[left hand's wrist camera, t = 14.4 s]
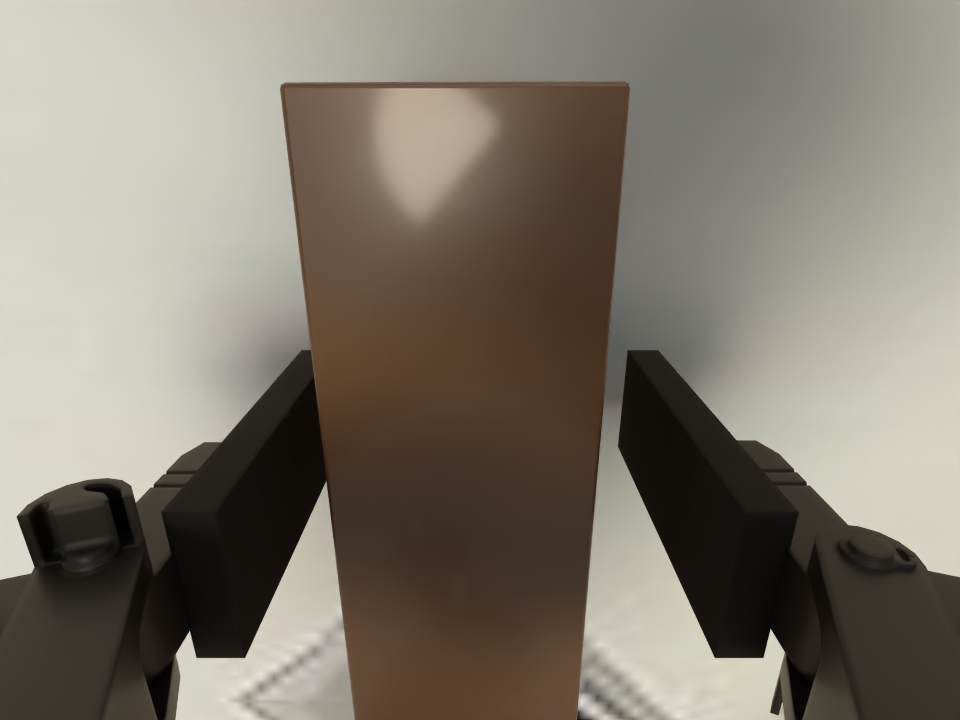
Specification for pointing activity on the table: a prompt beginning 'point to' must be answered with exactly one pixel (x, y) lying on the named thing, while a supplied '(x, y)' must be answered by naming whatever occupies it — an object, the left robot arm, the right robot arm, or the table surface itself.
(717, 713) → the table surface
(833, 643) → the left robot arm
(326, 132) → the beam
